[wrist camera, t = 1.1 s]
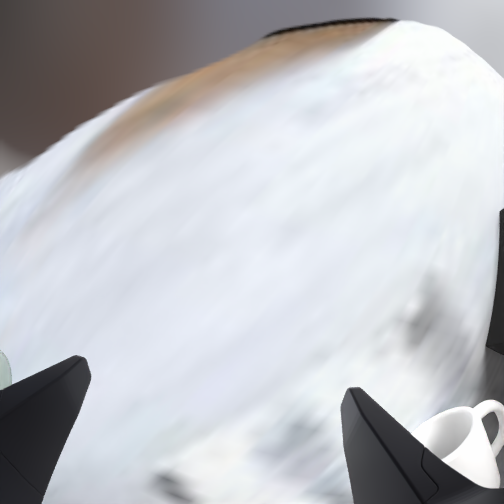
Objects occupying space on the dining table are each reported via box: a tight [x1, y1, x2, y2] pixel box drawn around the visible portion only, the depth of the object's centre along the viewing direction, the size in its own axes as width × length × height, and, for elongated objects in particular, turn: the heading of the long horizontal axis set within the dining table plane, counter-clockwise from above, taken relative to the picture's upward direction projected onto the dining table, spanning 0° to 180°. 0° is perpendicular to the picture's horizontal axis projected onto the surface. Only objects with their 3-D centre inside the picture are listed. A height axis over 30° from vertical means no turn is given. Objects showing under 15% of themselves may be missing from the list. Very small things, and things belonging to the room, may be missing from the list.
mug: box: [411, 400, 504, 488], centre depth 15 cm, size 12×10×8 cm
